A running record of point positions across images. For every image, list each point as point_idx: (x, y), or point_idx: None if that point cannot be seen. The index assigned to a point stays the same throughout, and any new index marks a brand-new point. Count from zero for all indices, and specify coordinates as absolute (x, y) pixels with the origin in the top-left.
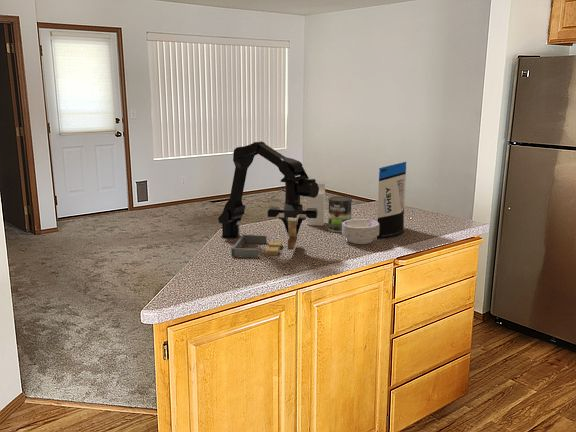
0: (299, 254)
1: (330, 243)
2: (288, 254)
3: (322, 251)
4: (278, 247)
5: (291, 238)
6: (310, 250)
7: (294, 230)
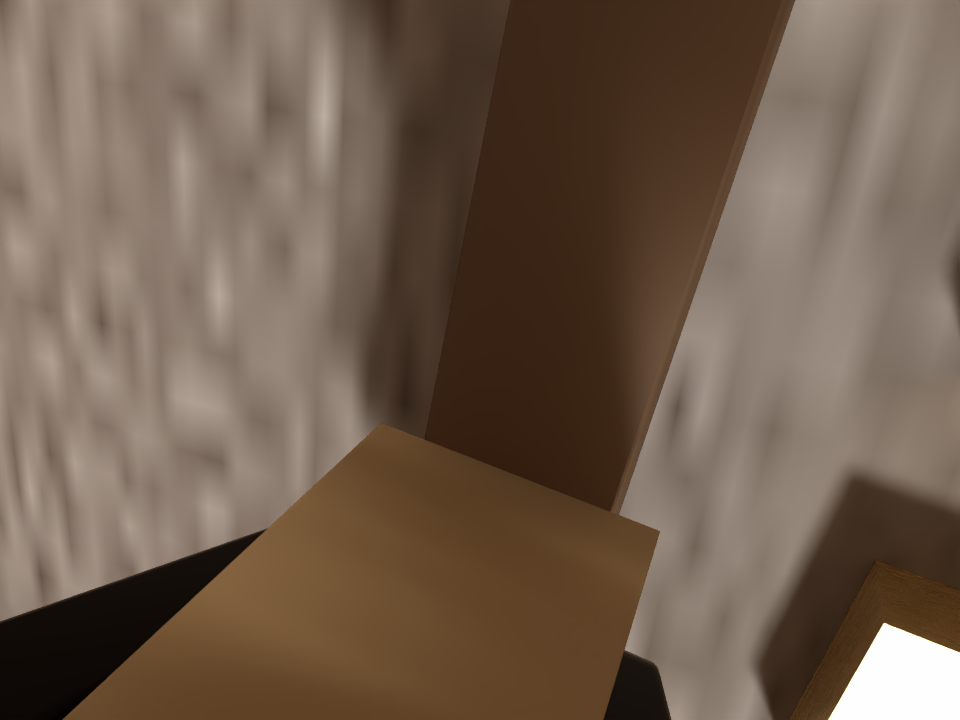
0: (495, 53)
1: (17, 563)
2: (771, 87)
3: (76, 199)
4: (922, 596)
5: (578, 218)
6: (267, 303)
7: (308, 589)
